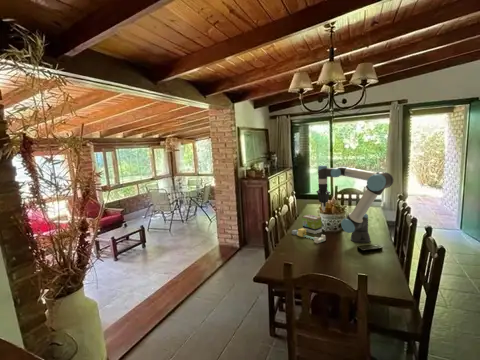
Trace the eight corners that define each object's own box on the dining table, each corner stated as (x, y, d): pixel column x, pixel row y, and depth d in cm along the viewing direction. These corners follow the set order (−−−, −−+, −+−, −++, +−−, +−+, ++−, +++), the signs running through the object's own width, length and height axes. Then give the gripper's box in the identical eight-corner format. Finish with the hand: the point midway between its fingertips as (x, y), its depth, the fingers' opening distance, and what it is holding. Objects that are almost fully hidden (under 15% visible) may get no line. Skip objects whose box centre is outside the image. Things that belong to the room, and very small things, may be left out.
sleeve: (306, 235, 256) (306, 229, 255) (302, 237, 253) (302, 230, 252) (302, 234, 260) (301, 228, 259) (298, 235, 257) (298, 229, 256)
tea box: (302, 231, 270) (302, 216, 268) (309, 228, 276) (308, 214, 274) (315, 234, 258) (315, 218, 257) (322, 232, 264) (321, 216, 263)
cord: (322, 241, 239) (322, 239, 239) (321, 242, 238) (321, 240, 238) (294, 233, 265) (294, 231, 265) (293, 233, 264) (293, 232, 264)
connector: (298, 233, 263) (298, 230, 263) (295, 234, 261) (295, 231, 260) (295, 232, 266) (295, 229, 266) (291, 233, 264) (291, 230, 263)
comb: (325, 240, 242) (325, 235, 241) (317, 243, 236) (317, 238, 235) (322, 239, 245) (322, 234, 244) (314, 242, 239) (314, 237, 238)
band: (300, 234, 260) (300, 231, 260) (298, 235, 258) (297, 232, 258) (299, 234, 261) (299, 231, 261) (297, 235, 259) (296, 232, 259)
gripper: (332, 183, 242) (332, 210, 245) (319, 182, 253) (320, 208, 255) (326, 184, 238) (327, 212, 241) (314, 183, 248) (314, 209, 251)
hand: (323, 210), depth 248 cm, fingers closed
